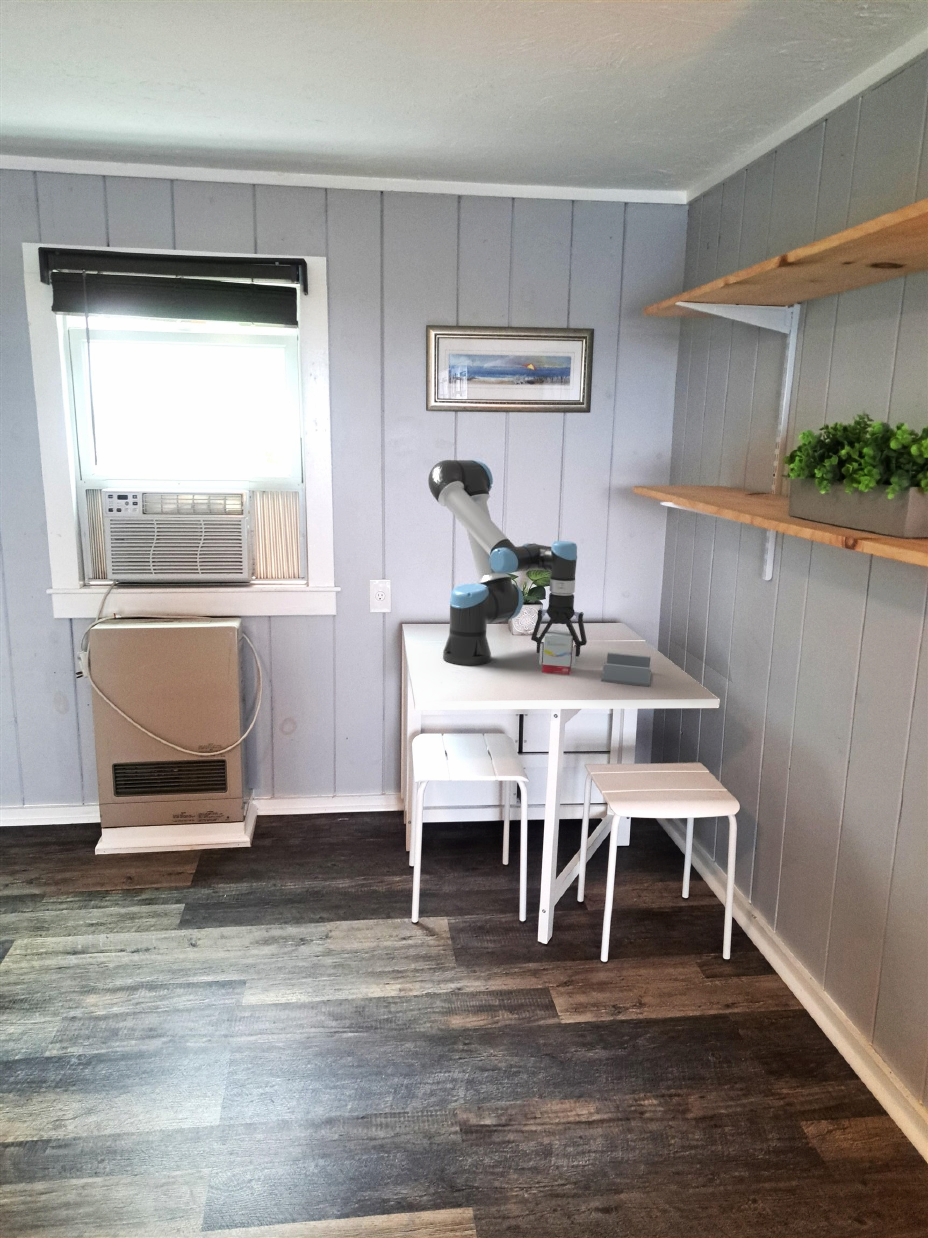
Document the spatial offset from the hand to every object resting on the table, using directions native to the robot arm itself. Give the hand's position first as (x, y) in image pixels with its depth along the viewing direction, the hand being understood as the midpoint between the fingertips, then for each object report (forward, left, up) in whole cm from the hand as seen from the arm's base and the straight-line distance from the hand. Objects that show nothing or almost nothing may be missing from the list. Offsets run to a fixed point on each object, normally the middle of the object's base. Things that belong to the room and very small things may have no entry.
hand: (557, 665), depth 257 cm
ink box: (0, 0, -2) cm, 2 cm away
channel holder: (+21, 0, -2) cm, 21 cm away
